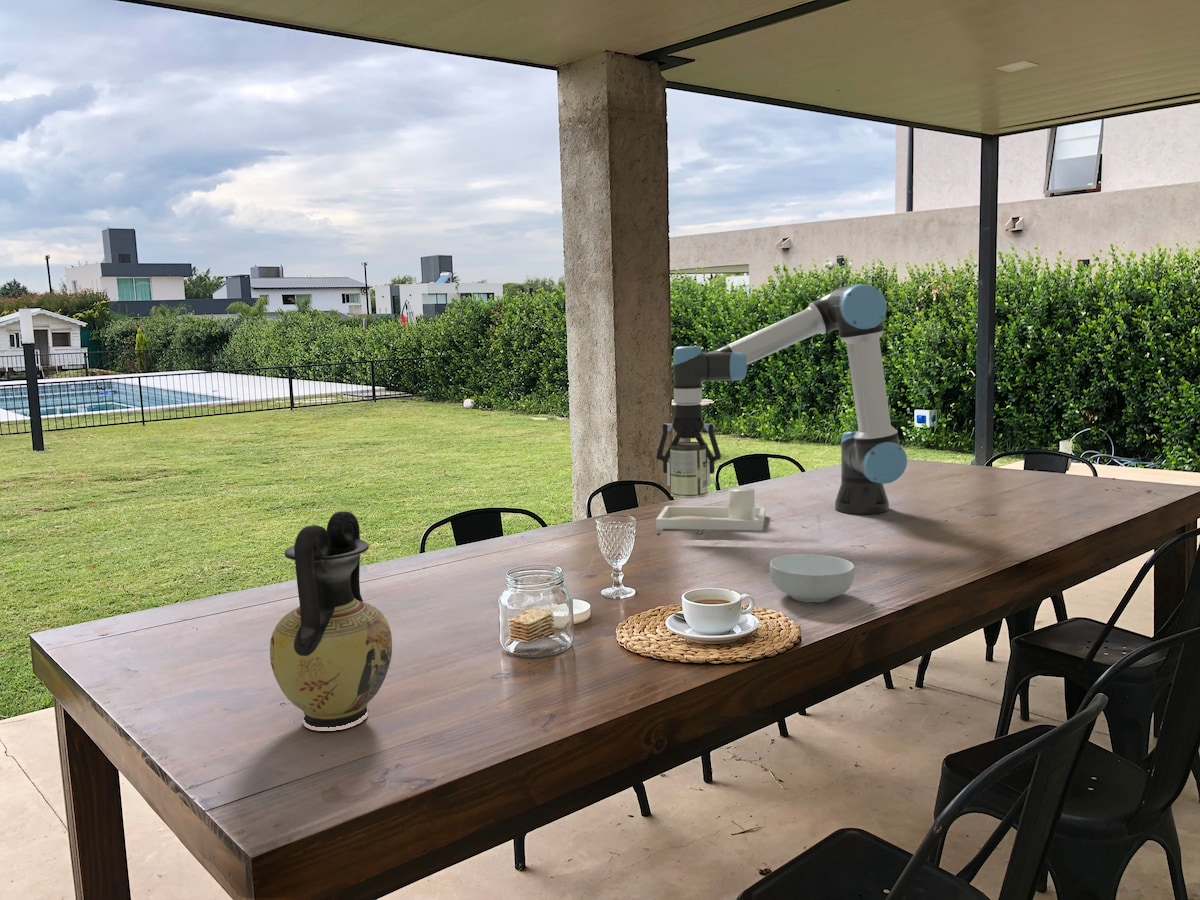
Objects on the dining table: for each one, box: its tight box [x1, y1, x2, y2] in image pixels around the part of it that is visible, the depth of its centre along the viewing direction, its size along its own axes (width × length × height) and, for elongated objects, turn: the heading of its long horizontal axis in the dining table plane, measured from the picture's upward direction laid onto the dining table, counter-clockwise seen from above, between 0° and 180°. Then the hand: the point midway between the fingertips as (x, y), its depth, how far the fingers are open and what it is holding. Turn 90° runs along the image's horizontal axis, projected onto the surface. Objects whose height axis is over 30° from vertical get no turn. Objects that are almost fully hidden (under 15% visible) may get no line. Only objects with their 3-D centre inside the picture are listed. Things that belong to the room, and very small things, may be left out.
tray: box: [655, 505, 766, 535], centre depth 252 cm, size 28×18×4 cm, turn 78°
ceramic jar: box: [727, 486, 756, 520], centre depth 250 cm, size 7×7×9 cm
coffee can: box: [668, 441, 709, 499], centre depth 252 cm, size 10×10×14 cm
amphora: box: [269, 510, 393, 728], centre depth 133 cm, size 18×17×30 cm
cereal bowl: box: [769, 553, 855, 603], centre depth 187 cm, size 17×17×7 cm
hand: (689, 485), depth 252 cm, fingers closed on coffee can, 10 cm apart
